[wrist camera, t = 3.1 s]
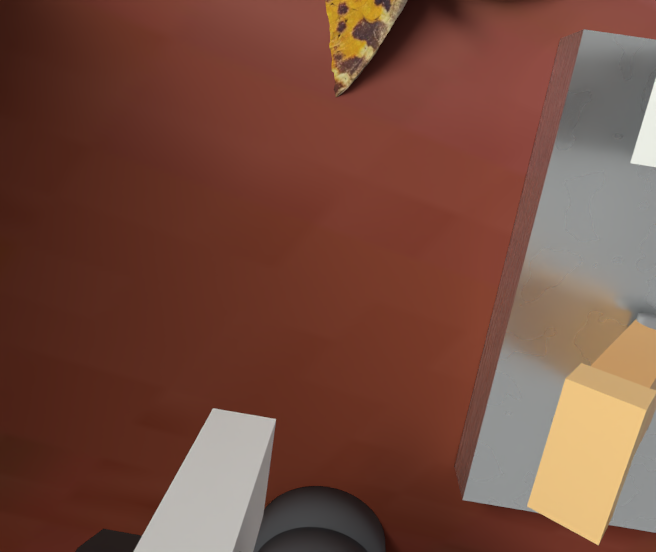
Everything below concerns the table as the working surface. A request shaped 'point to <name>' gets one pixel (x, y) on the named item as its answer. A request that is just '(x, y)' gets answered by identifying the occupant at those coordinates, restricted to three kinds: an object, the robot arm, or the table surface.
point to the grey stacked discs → (319, 523)
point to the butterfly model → (357, 35)
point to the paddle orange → (598, 433)
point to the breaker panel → (569, 273)
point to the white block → (647, 135)
